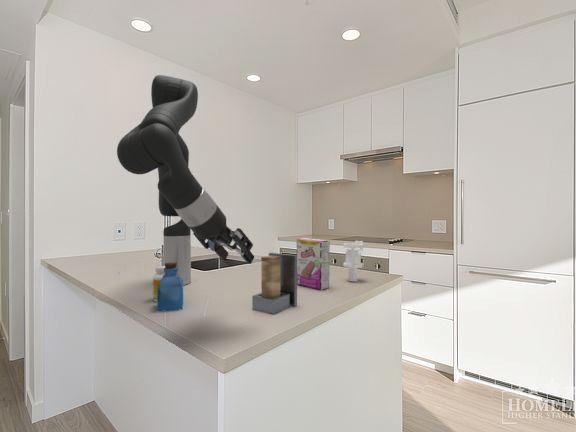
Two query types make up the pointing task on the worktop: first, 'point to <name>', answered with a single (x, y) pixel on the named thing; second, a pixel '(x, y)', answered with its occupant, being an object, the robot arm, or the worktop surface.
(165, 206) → the robot arm
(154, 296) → the supplement bottle
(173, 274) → the perfume bottle
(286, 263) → the grey holder with backboard
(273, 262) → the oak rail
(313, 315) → the worktop surface
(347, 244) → the white upright piece
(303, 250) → the candy bar box
